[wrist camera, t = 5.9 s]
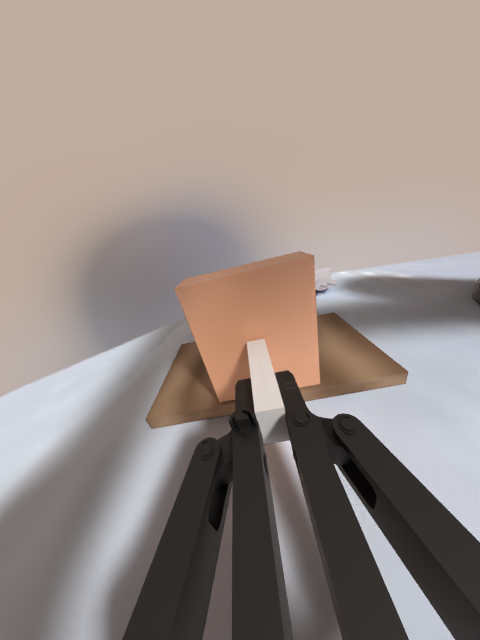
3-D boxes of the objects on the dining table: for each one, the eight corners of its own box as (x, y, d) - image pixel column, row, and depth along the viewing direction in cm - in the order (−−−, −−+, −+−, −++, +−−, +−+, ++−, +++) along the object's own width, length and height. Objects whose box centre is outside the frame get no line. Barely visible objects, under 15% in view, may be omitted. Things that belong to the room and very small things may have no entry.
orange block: (293, 336, 26) (282, 246, 20) (320, 383, 17) (314, 255, 12) (224, 350, 26) (197, 267, 21) (219, 402, 18) (174, 288, 13)
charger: (312, 303, 38) (281, 287, 52) (350, 291, 39) (310, 279, 53) (310, 281, 36) (279, 271, 50) (351, 269, 37) (309, 262, 51)
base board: (333, 320, 30) (333, 312, 29) (405, 383, 17) (408, 371, 17) (184, 351, 32) (181, 344, 31) (151, 428, 19) (145, 419, 19)
